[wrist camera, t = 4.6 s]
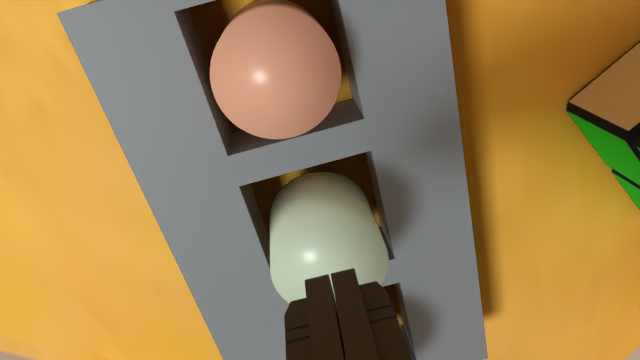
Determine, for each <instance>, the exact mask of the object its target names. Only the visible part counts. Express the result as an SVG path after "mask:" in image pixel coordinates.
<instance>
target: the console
mask: <svg viewBox="0 0 640 360" xmlns="http://www.w3.org/2000/svg"><path fill="white" fill-rule="evenodd" d="M211 1H214V0H100V1H97V2H93V3H90V4H86V5H83V6H79V7H76V8H72V9H69V10H66V11H62V12H59V13H57V15H58V17H59V19H60V21H61V23H62V25H63V27H64V29H65V31H66V33H67V35H68V37H69V40H70V42H71V44H72V46H73V48H74V50H75V52H76V54H77V56H78V58H79V60H80V62H81V64H82V67H83V69H84V71H85V73H86V75H87V77H88V79H89V81H90V83H91V85H92V87H93V89H94V92H95V94H96V96H97V98H98V100H99V102H100V104H101V106H102V108H103V110H104V112H105V114H106V116H107V119H108V121H109V123H110V125H111V127H112V129H113V131H114V133H115V135H116V137H117V139H118V141H119V144H120V146H121V148H122V150H123V152H124V154H125V156H126V158H127V160H128V162H129V164H130V166H131V168H132V171H133V173H134V175H135V177H136V179H137V181H138V183H139V185H140V187H141V189H142V191H143V193H144V196H145V198H146V200H147V202H148V204H149V206H150V208H151V210H152V212H153V214H154V216H155V218H156V220H157V223H158V225H159V227H160V229H161V231H162V233H163V235H164V237H165V239H166V241H167V243H168V245H169V247H170V250H171V252H172V254H173V256H174V258H175V260H176V262H177V264H178V266H179V268H180V270H181V272H182V275H183V277H184V279H185V281H186V283H187V285H188V287H189V289H190V291H191V293H192V295H193V297H194V299H195V302H196V304H197V306H198V308H199V310H200V312H201V314H202V316H203V318H204V320H205V322H206V324H207V327H208V329H209V331H210V333H211V335H212V337H213V339H214V341H215V343H216V345H217V347H218V349H219V351H220V354H221V356H222V358H223V360H286V347H285V345H286V343H285V324H284V315H285V313H286V310H287V308H288V306H289V304H290V303H288V302H287V301H286V300H284V299H283V298H282V297H281V295H280V294H279V293H278V292H277V290H276V289H275V287H274V285H273V282H272V279H271V273H270V236H269V233H268V230H267V227H266V224H265V222H264V219H263V216H262V213H261V210H260V208H259V205H258V202H257V199H256V196H255V194H254V191H253V188H252V185H251V183H253V182H257V181H261V180H265V179H268V178H272V177H276V176H279V175H283V174H287V173H290V172H294V171H298V170H301V169H305V168H309V167H312V166H316V165H320V164H323V163H327V162H331V161H335V160H338V159H342V158H346V157H349V156H353V155H357V154H360V153H364V152H365V155H366V160H367V164H368V169H369V173H370V177H371V182H372V186H373V191H374V195H375V200H376V204H377V209H378V213H379V218H380V222H381V226H382V227H380V228H379V230H380V233H381V235H382V238H383V240H384V243H385V245H386V248H387V251H388V258H389V260H388V270H387V273H386V276H385V279H384V281H383V283H382V284H381V286H382V287H384V286H387V285H391V284H395V289H396V293H397V298H398V302H399V307H400V311H401V316H402V320H403V325H404V326H401V327H400V329H401V331H402V334H403V337H404V340H405V343H406V346H407V349H408V352H409V354H410V357H411V360H482V359H486V358H488V353H487V345H486V337H485V328H484V320H483V312H482V303H481V295H480V286H479V278H478V270H477V261H476V253H475V245H474V236H473V228H472V219H471V211H470V203H469V194H468V186H467V178H466V169H465V161H464V152H463V144H462V136H461V127H460V119H459V111H458V102H457V94H456V85H455V77H454V69H453V60H452V52H451V44H450V35H449V27H448V18H447V10H446V2H445V0H331V4H332V8H333V12H334V17H335V21H336V26H337V30H338V35H339V39H340V44H341V48H342V53H343V57H344V62H345V66H346V70H347V75H348V79H349V84H350V88H351V93H352V97H353V99H351V100H347V101H344V102H340V103H336V104H334V106H333V108H332V109H331V111H330V112H329V113H328V115H327V116H326V117H325V118H324V119H323V120H322V121H321V122H320V123H319V124H318V125H317V126H316V127H314V128H312V129H311V130H309V131H308V132H305V133H303V134H301V135H298V136H295V137H292V138H287V139H267V138H261V137H258V136H255V135H252V134H250V133H247V132H245V131H244V130H242V129H241V130H238V131H234V132H232V129H231V127H230V124H229V121H228V118H227V117H226V115H225V114H224V113H223V112H222V110H221V109H220V107H219V105H218V104H217V102H216V99H215V97H214V95H213V91H212V88H211V82H210V68H209V65H208V62H207V59H206V57H205V54H204V51H203V48H202V45H201V43H200V40H199V37H198V34H197V31H196V29H195V26H194V23H193V20H192V17H191V15H190V12H189V9H188V8H189V7H193V6H196V5H200V4H203V3H207V2H211Z"/></svg>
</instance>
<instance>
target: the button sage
mask: <svg viewBox="0 0 640 360" xmlns="http://www.w3.org/2000/svg"><path fill="white" fill-rule="evenodd" d="M388 260H389V258H388V251H387V248H386V245H385V243H384V240H383V238H382V235H381V233H380V230H379V228H378V225H377V223H376V220H375V218H374V215H373V213H372V210H371V208H370V206H369V203H368V201H367V198H366V196H365V194H364V193H363V191H362V190H361V188H360V187H359V186H358V185H357V184H356V183H354V182H353V181H352V180H350V179H349V178H347V177H345V176H342V175H340V174H336V173H332V172H313V173H308V174H305V175H302V176H299V177H297V178H295V179H293V180H292V181H290V182H289V183H288V184H286V185H285V186H284V187H283V188H282V189H281V190H280V191H279V193H278V194H277V195H276V197H275V199H274V201H273V203H272V206H271V210H270V273H271V279H272V282H273V285H274V287H275V289H276V290H277V292H278V293H279V294H280V295H281V297H282V298H283V299H284V300H286V301H287V302H288V303H290V302H291V301H294V300H298V299H303V298H306V290H305V280H306V279H310V278H314V277H318V276H323V275H327V274H329V277H330V281H331V285H332V288H333V284H332V279H331V273H335V272H339V271H343V270H347V269H352V268H354V269H355V272H356V276H357V279H358V283H359V285H361V284H366V283H370V282H374V281H377V282H378V283H379V284H380V285H381V284H382V283H383V281H384V279H385V276H386V273H387V270H388ZM333 292H334V289H333ZM334 296H335V294H334Z"/></svg>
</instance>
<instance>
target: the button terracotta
mask: <svg viewBox="0 0 640 360" xmlns="http://www.w3.org/2000/svg"><path fill="white" fill-rule="evenodd" d="M210 82H211V88H212V91H213V95H214V97H215V99H216V102H217V104H218V105H219V107H220V109H221V110H222V112H223V113H224V114H225V115H226V117H227V118H228V119H229V120H230V121H231V122H232V123H234V124H235V125H236V126H237V127H239V128H240V129H242V130H244V131H245V132H247V133H250V134H252V135H255V136H258V137H261V138H267V139H287V138H292V137H295V136H298V135H301V134H303V133H305V132H308V131H309V130H311V129H312V128H314V127H316V126H317V125H318V124H319V123H320V122H321V121H322V120H323V119H324V118H325V117H326V116H327V115H328V113H329V112H330V111H331V109H332V108H333V106H334V104H335V102H336V99H337V97H338V94H339V90H340V86H341V65H340V60H339V56H338V53H337V51H336V48H335V46H334V44H333V42H332V41H331V39H330V38H329V36H328V35H327V33H326V32H325V31H324V29H323V28H322V26H321V25H320V24H319V22H318V21H317V20H316V19H315V17H314V16H313V15H312V14H311V13H310V12H309V11H307V10H306V9H305V8H303V7H302V6H300V5H298V4H296V3H294V2H291V1H288V0H258V1H255V2H252V3H250V4H248V5H246V6H245V7H243V8H242V9H241V10H239V11H238V12H237V13H236V14H235V15H234V16H233V17H232V18H231V20H230V21H229V23H228V24H227V26H226V28H225V29H224V31H223V33H222V35H221V37H220V39H219V40H218V42H217V44H216V46H215V49H214V51H213V54H212V58H211V63H210Z"/></svg>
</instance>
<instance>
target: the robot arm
mask: <svg viewBox="0 0 640 360" xmlns="http://www.w3.org/2000/svg"><path fill="white" fill-rule="evenodd" d="M331 279H332V284H333V288H332V285H331V281H330V277H329V274H327V275H323V276H318V277H314V278H310V279H306V280H305V290H306V298H303V299H298V300H294V301H291V302H290V304H289V306H288V308H287V310H286V313H285V315H284V324H285V343H286V345H285V347H286V360H411V357H410V354H409V352H408V349H407V346H406V343H405V340H404V337H403V334H402V331H401V329H400V326H399V323H398V320H397V318H396V314H395V311H394V309H393V306H392V303H391V300H390V297H389V294H388V291H387V290H386V289H385V288H383V287H382V286H381V285H380V284H379V283H378V282H377V281H374V282H370V283H366V284H361V285H359V283H358V279H357V276H356V272H355V269H354V268H352V269H347V270H343V271H339V272H335V273H331ZM333 289H334V292H333ZM334 294H335V296H334Z"/></svg>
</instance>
